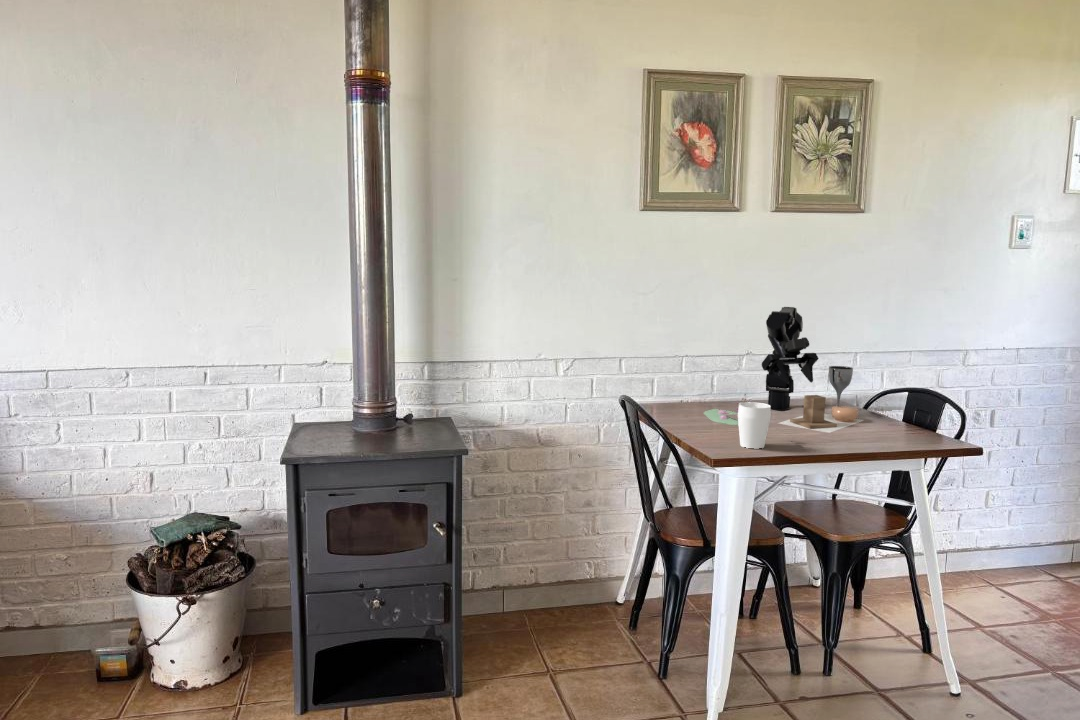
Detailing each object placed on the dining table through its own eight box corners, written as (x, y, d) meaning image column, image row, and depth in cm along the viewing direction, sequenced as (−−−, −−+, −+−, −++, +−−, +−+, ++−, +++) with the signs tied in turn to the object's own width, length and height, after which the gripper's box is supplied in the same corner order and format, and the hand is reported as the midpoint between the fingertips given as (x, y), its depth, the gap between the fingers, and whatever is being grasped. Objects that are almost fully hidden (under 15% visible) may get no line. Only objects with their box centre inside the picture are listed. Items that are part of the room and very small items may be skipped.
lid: (789, 421, 255) (791, 394, 254) (815, 420, 258) (817, 392, 257) (810, 429, 246) (812, 400, 244) (836, 427, 249) (838, 398, 248)
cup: (731, 442, 231) (733, 401, 229) (761, 442, 232) (764, 401, 230) (742, 450, 222) (744, 408, 220) (773, 450, 223) (776, 408, 221)
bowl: (827, 419, 259) (827, 407, 259) (837, 416, 265) (838, 404, 264) (851, 424, 254) (852, 411, 253) (861, 420, 259) (862, 408, 259)
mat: (777, 426, 253) (777, 423, 253) (814, 414, 272) (814, 411, 271) (829, 435, 241) (829, 432, 241) (864, 423, 260) (864, 420, 260)
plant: (684, 414, 270) (685, 388, 269) (727, 408, 281) (728, 383, 280) (739, 430, 249) (741, 401, 248) (783, 423, 260) (785, 396, 259)
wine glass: (853, 412, 277) (856, 369, 275) (830, 411, 277) (833, 369, 275) (845, 407, 285) (848, 366, 283) (822, 407, 285) (825, 365, 283)
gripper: (768, 329, 257) (788, 368, 248) (816, 328, 263) (837, 366, 254) (753, 350, 265) (771, 389, 256) (800, 349, 271) (819, 386, 263)
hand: (800, 382), depth 257 cm, fingers open, 9 cm apart
